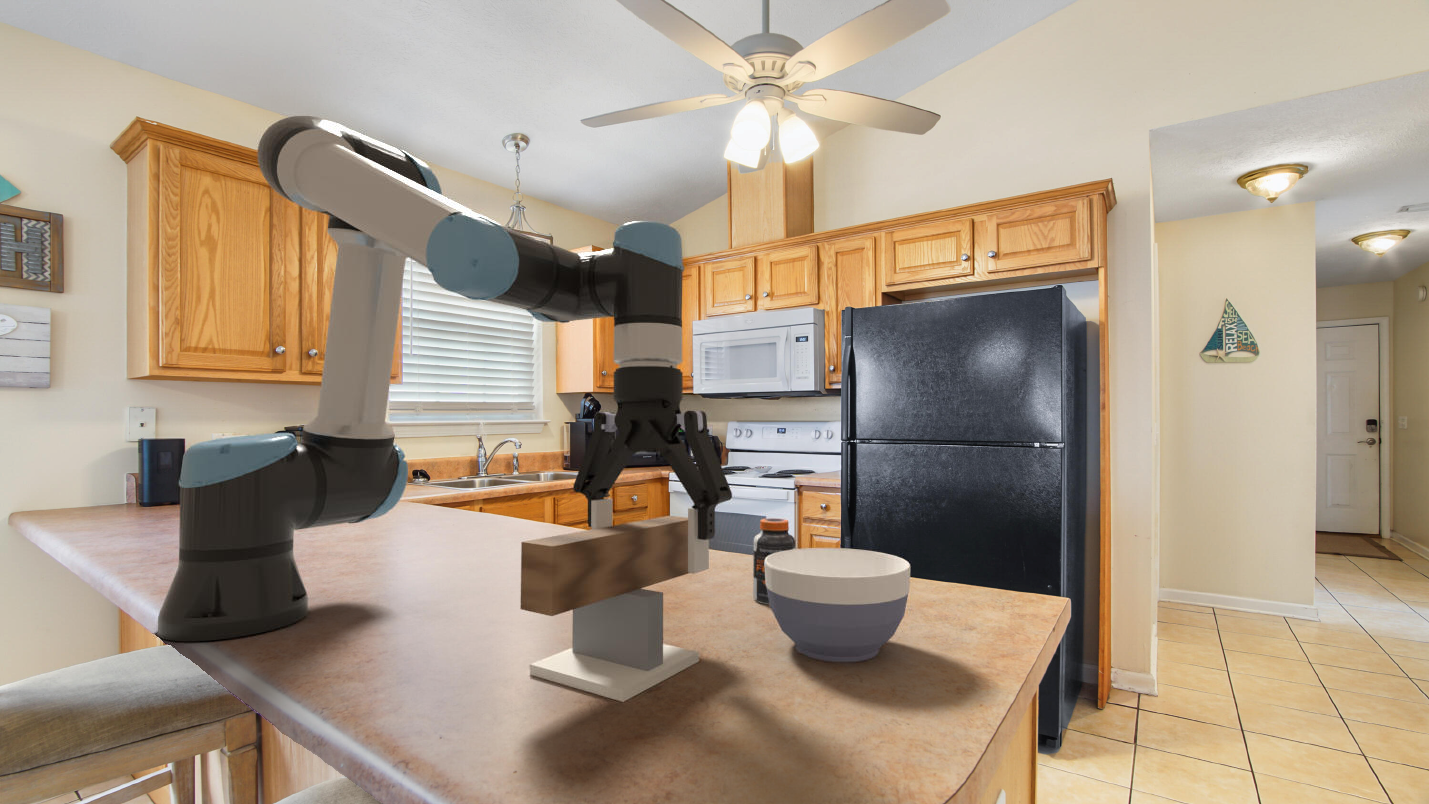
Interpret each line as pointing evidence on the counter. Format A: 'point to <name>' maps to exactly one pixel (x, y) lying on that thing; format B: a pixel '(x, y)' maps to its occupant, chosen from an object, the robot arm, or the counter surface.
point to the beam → (601, 563)
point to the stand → (617, 648)
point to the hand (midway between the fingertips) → (647, 563)
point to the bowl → (837, 600)
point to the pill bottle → (768, 552)
